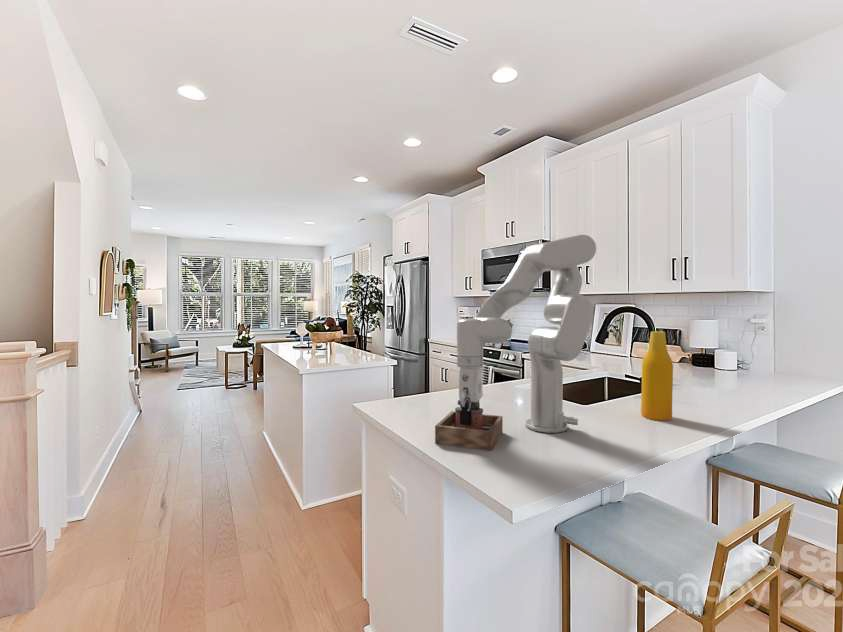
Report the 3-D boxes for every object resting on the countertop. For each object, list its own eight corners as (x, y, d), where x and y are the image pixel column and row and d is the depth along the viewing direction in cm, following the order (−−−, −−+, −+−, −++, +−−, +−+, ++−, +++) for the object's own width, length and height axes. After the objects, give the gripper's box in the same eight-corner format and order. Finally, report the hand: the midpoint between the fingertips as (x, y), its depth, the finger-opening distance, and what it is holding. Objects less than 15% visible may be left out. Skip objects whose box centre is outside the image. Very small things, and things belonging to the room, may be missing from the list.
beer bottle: (678, 421, 136) (680, 333, 135) (649, 421, 136) (650, 333, 135) (662, 413, 145) (664, 330, 144) (635, 413, 146) (637, 330, 144)
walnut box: (502, 432, 126) (502, 416, 126) (491, 450, 111) (491, 432, 111) (451, 426, 132) (451, 411, 131) (435, 443, 117) (435, 425, 116)
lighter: (483, 433, 122) (483, 399, 121) (482, 436, 118) (482, 402, 118) (456, 431, 123) (455, 398, 123) (454, 435, 120) (454, 400, 119)
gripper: (475, 366, 111) (475, 430, 112) (489, 357, 127) (489, 413, 128) (448, 365, 114) (448, 427, 114) (465, 356, 130) (465, 411, 130)
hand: (470, 419), depth 121 cm, fingers open, 9 cm apart
